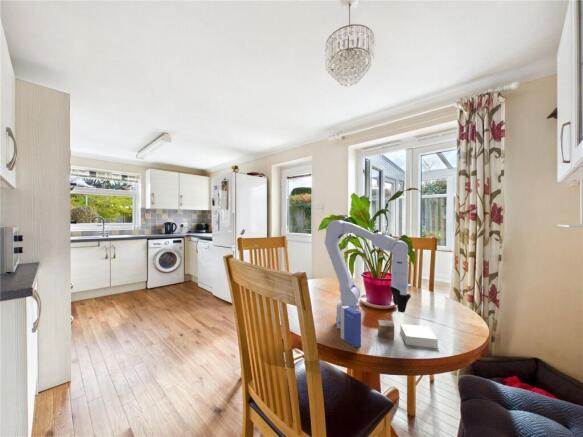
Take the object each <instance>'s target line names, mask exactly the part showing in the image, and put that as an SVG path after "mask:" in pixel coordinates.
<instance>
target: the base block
mask: <svg viewBox="0 0 583 437" xmlns="http://www.w3.org/2000/svg"><path fill="white" fill-rule="evenodd" d="M399 329H400V330H399V331H400V334H401V337H402V338H403V340H404V343H405V345H406V346H415V347H425V348H432V349H438V348H439V347H438V344H439V342H438V337H437V336H436V335H435V333H434V332H433V330H431V328H430V327H429V326H427V325H426V326H424V325H413V324H403V323H402V324H400V328H399Z"/></svg>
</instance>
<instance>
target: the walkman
mask: <svg viewBox="0 0 583 437" xmlns="http://www.w3.org/2000/svg"><path fill="white" fill-rule="evenodd" d="M340 338H341V339H342V340H343V341H345V342H347V344H348V345H350V346H352V347H353V348H358V347H361V346H362V312H361V311H360V312H359V311H358V310H355V309H353V308H351V307H349V306H341V328H340Z"/></svg>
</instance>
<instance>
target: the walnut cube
mask: <svg viewBox="0 0 583 437" xmlns="http://www.w3.org/2000/svg"><path fill="white" fill-rule="evenodd" d="M377 322H378V323H377V326H378V327H377V330H378V331H377V332H378V338H379V339H381V340H390V341H395V325H394V322H393V320H383V319H378V320H377Z"/></svg>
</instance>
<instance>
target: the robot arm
mask: <svg viewBox="0 0 583 437" xmlns="http://www.w3.org/2000/svg"><path fill="white" fill-rule="evenodd" d="M325 231H326V232H325V237H324V238H325V239H324V244H325V248H326V251H327V252H328V253H327V254H328V256H329V259H330V260H331V264H332V267H333V270H334V273H335V274H336V275H335V276H336V277H337V279H338V283H339V292H340V297H339V298H340V302H337V303H336V316H335V321H336V328H337V329H341V306H349V307H351V308H353V309H355V310H358V311H359V312H361V311H360V302H359V300H358V299H359V298H360V296H361V291H360V289H359V287H358V286H357V285H356V283H355V282H354V280H353V279H352V278H351V275H350V273H349V269H348V268H347V267H348V266H347V265H346V264H347V263H346V262H345V259H344V256H343V254H342V251H341V248H340V247H339V242H340V240H341V238H342V237H343V236H344V234H345V235H347V234H354V235H357V236H358V237H359V236H360V237H361V238H364V239H366V240H369V241H370V242H371V243H372V245H373V246H374V247H377V248H379V249H381V250H384V251H385V252H388V253H391V254H392V259H391V281H390V282H391V283H390V285H388V287H389V289H390V292H391V294H392V299H393V304H394V306H396V308H397V312H398V313H403V314H404V313H405V312H406V309H407V305H408V302H409V301H410V298H411V296H412V295H411V293H408V289H409V288H412V285H411V284H409V281H408V280H409V261H408V260H409V256H408V254H409V251H410V250H409V246H408V245H409V244H408V243H406V242H405V241H403V240H402V239H401V240H400V239H399V238H397V237H395V238H394V237H392V236H390V235H388V234H386V232H384V231H382V232H381V231H378V232H375V233H374V232H372V231H370V230H368V229H365V228H363V227H362V226H359V225H357V224H354V223H353V222H349V221H345V220H342V219H339V220H337V219H334V220H332V221H330V222H329V224H327V226H326V228H325ZM398 239H399V240H398Z"/></svg>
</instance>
